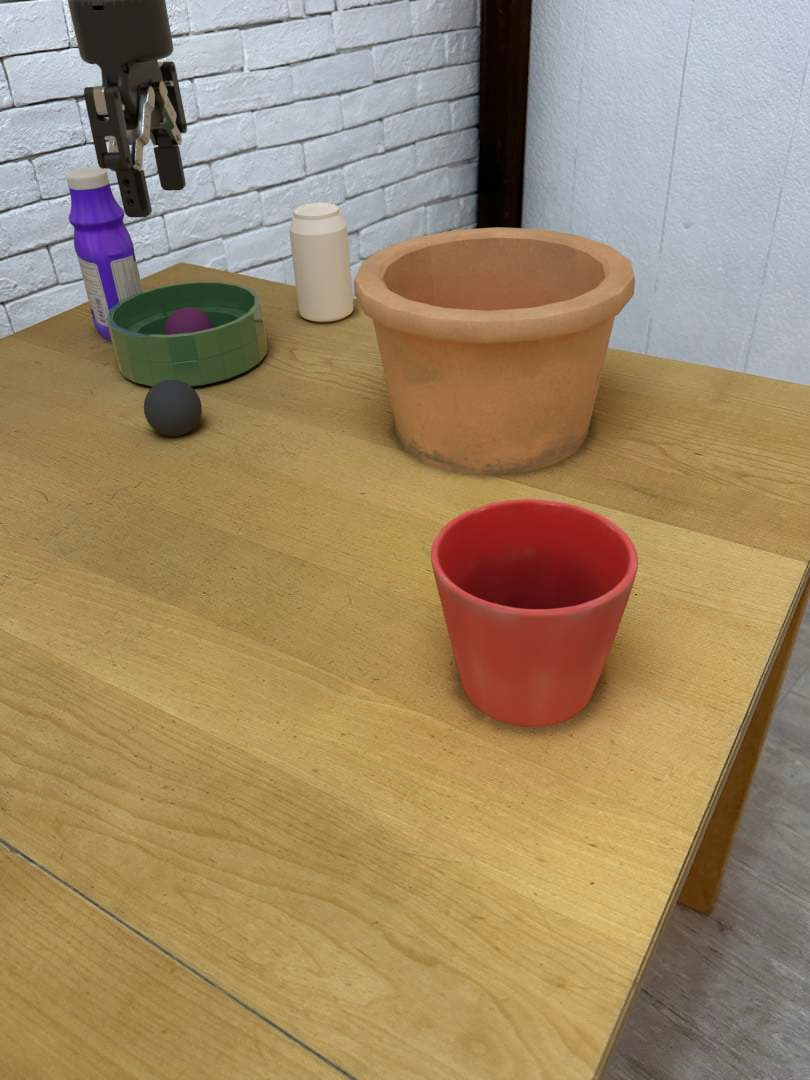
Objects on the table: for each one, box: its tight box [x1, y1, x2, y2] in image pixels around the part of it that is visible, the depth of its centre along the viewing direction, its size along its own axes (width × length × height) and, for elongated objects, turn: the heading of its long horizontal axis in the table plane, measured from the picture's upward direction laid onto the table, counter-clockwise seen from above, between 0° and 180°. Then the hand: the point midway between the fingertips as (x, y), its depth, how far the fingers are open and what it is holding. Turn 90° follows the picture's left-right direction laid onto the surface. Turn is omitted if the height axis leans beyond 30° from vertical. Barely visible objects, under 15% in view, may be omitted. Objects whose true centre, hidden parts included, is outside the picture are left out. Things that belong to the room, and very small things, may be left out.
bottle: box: [65, 166, 144, 342], centre depth 97 cm, size 7×6×17 cm
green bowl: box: [106, 280, 268, 387], centre depth 93 cm, size 15×15×6 cm
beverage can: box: [288, 202, 354, 323], centre depth 99 cm, size 6×6×12 cm
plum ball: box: [165, 307, 214, 335], centre depth 92 cm, size 5×5×5 cm
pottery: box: [353, 226, 636, 477], centre depth 75 cm, size 22×22×14 cm
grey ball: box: [143, 380, 203, 438], centre depth 80 cm, size 5×5×5 cm
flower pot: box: [430, 498, 639, 728], centre depth 51 cm, size 11×11×10 cm
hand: (157, 202), depth 81 cm, fingers open, 8 cm apart
